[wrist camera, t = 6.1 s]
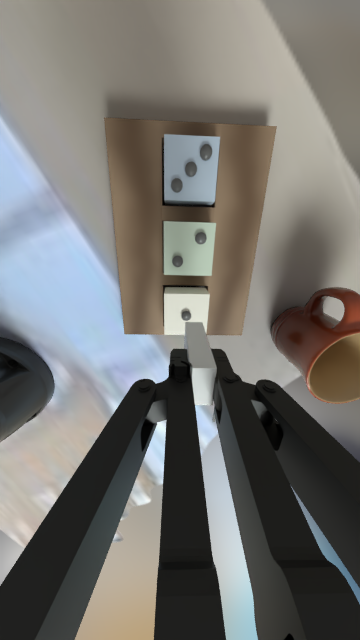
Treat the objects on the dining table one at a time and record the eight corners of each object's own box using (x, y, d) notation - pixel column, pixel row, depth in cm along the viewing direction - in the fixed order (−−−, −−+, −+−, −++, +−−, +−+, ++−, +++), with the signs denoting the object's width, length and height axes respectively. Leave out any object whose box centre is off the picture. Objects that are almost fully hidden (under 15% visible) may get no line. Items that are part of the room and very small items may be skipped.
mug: (318, 348, 30) (385, 398, 20) (262, 356, 30) (302, 408, 21) (330, 271, 25) (423, 289, 16) (264, 280, 26) (317, 304, 16)
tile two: (165, 270, 23) (163, 275, 20) (165, 223, 21) (163, 220, 18) (206, 271, 23) (212, 276, 20) (210, 225, 21) (216, 222, 18)
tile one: (165, 323, 26) (164, 335, 22) (165, 286, 24) (163, 294, 20) (202, 324, 26) (206, 336, 23) (205, 287, 24) (210, 295, 21)
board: (127, 327, 28) (124, 334, 26) (110, 129, 19) (104, 117, 17) (237, 329, 28) (241, 335, 26) (267, 137, 20) (276, 126, 18)
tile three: (165, 205, 22) (164, 199, 19) (165, 149, 20) (164, 132, 17) (209, 207, 22) (215, 201, 19) (213, 152, 20) (220, 135, 17)
